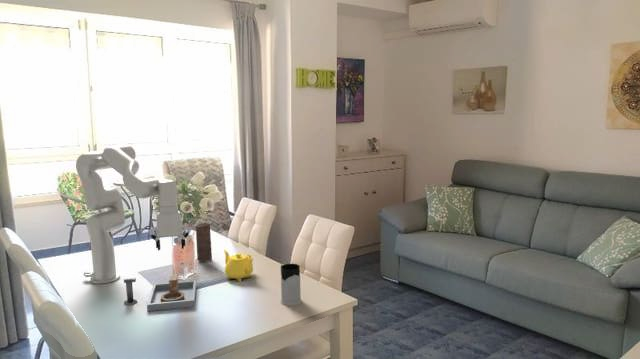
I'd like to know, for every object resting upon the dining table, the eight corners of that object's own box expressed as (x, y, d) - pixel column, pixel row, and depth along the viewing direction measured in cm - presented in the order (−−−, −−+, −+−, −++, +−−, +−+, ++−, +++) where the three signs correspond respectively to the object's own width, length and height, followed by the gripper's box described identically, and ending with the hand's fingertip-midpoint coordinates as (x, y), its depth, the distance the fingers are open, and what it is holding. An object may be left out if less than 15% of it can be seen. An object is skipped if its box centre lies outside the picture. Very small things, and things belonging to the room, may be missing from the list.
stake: (123, 305, 194) (121, 281, 193) (125, 300, 199) (123, 277, 198) (136, 304, 195) (134, 280, 194) (138, 299, 200) (136, 276, 199)
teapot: (267, 276, 225) (266, 253, 223) (244, 286, 213) (243, 261, 212) (237, 267, 237) (236, 245, 235) (214, 276, 225) (213, 253, 224)
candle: (208, 263, 243) (206, 225, 240) (194, 263, 245) (192, 225, 241) (214, 258, 251) (212, 221, 247) (201, 258, 252) (199, 221, 249)
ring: (160, 305, 193) (159, 289, 192) (163, 291, 207) (162, 276, 206) (183, 303, 195) (182, 287, 194) (185, 289, 209) (184, 274, 208)
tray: (147, 312, 188) (146, 304, 188) (154, 290, 210) (153, 284, 209) (194, 307, 192) (194, 300, 192) (196, 286, 213) (196, 280, 213)
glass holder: (285, 307, 191) (284, 271, 189) (272, 295, 203) (271, 261, 201) (305, 303, 195) (304, 268, 192) (291, 291, 207) (290, 258, 205)
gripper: (145, 212, 194) (148, 252, 197) (189, 210, 198) (191, 249, 201) (148, 208, 202) (150, 247, 204) (190, 206, 205) (192, 244, 208)
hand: (171, 248), depth 203 cm, fingers open, 9 cm apart
